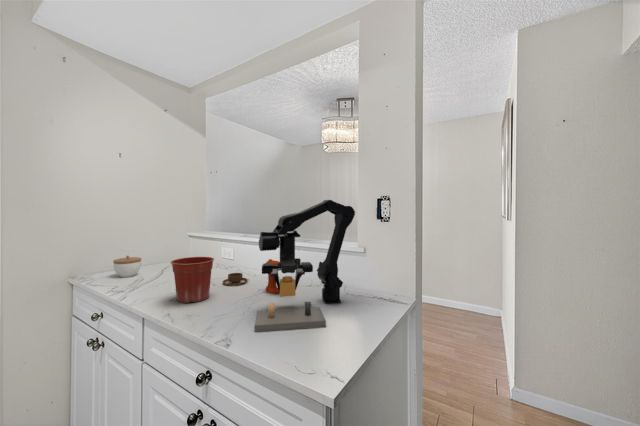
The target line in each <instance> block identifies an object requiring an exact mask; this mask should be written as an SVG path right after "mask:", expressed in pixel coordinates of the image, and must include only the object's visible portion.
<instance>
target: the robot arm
mask: <svg viewBox="0 0 640 426" xmlns="http://www.w3.org/2000/svg"><path fill="white" fill-rule="evenodd" d="M354 209H355V208H353V207H352V206H351V205H344V204H341V203H338V202H336V201H334V200H332V199H324V200H322V202H320V203H317V204H315V205H312V206H310V207H308V208H306V209H304V210H301V211H299V212H295V213H289V214H285V215H282V216H280V218H279V219H278V222H277V225H276V226H275V227H274V229H273V231H268V232H267V231H260V235H259V239H258V248H259V251H260V252H264V251H277V249H278V248H279V262H280V265H275V266H273V263H266V262H264V263H262V265H261V275H268V274H270V276H273V277H274V279H275V281H276V286H277V288H278V290H279V291H280V278H279V271H280V273H282V274H288V273H290V274H294V273H295V276H294V279H295V291H297V288H298V285H299V282H300V279H301V278H302V276H303V275H306V273H313V272H314V266H313V264H312V262H310V261H304V262H303V261H301V258H300V257H299V258H298V257H296V238H300V237H301V234H300V233H298V231H297V230H296V229H298V228H299V227H301V226H302V225H303V224H304V223H305V222H307V221H308V220H312V219H313V218H316V217H317V216H319V215H320V216H321V214H324V213H325V212H329V213H330V214H332V215H334V218H333V219H334V229H333V233H332V235H331V240H330V243H329V247H328V249H327V253H326V257H325V259H324V260H323V261H319V263H318V268H317V269H316V271H317V278H318V279H319V280H320V281H321V283H322V284H323V286H322V287H323V288H321V299H322V301H323V302H324V304H335V303H336V304H337V303H342V300H341V288H342V287H343V283H344V282H343V281H342V280H341V279H340V277H338V275H339V267H338V260H339V256H340V254H341V249H342V246H343V241H344V239H345V235H346V231H347V228H348V227H350V226H351V224H352V222H353V220H354V218H355V216H356V210H354ZM278 270H279V271H278Z"/></svg>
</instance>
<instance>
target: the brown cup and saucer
mask: <svg viewBox="0 0 640 426" xmlns="http://www.w3.org/2000/svg"><path fill="white" fill-rule="evenodd" d="M248 281H249V279H248V278H246V277H243V273H242V272H232V273H229V274H227V278H226V279H224V280H222V284H223V286H226V287H239V286H242V285H243V286H244V285H245V284H247V283H248ZM228 282H229V283H228ZM212 286H214V287H215V286H216V284H212Z"/></svg>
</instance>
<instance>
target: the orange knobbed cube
mask: <svg viewBox="0 0 640 426" xmlns="http://www.w3.org/2000/svg"><path fill="white" fill-rule="evenodd" d="M279 283H280V293H279V297H295V296H296V290H295V277H292V276H288V275H285V276H283V277H282V278H279Z"/></svg>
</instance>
